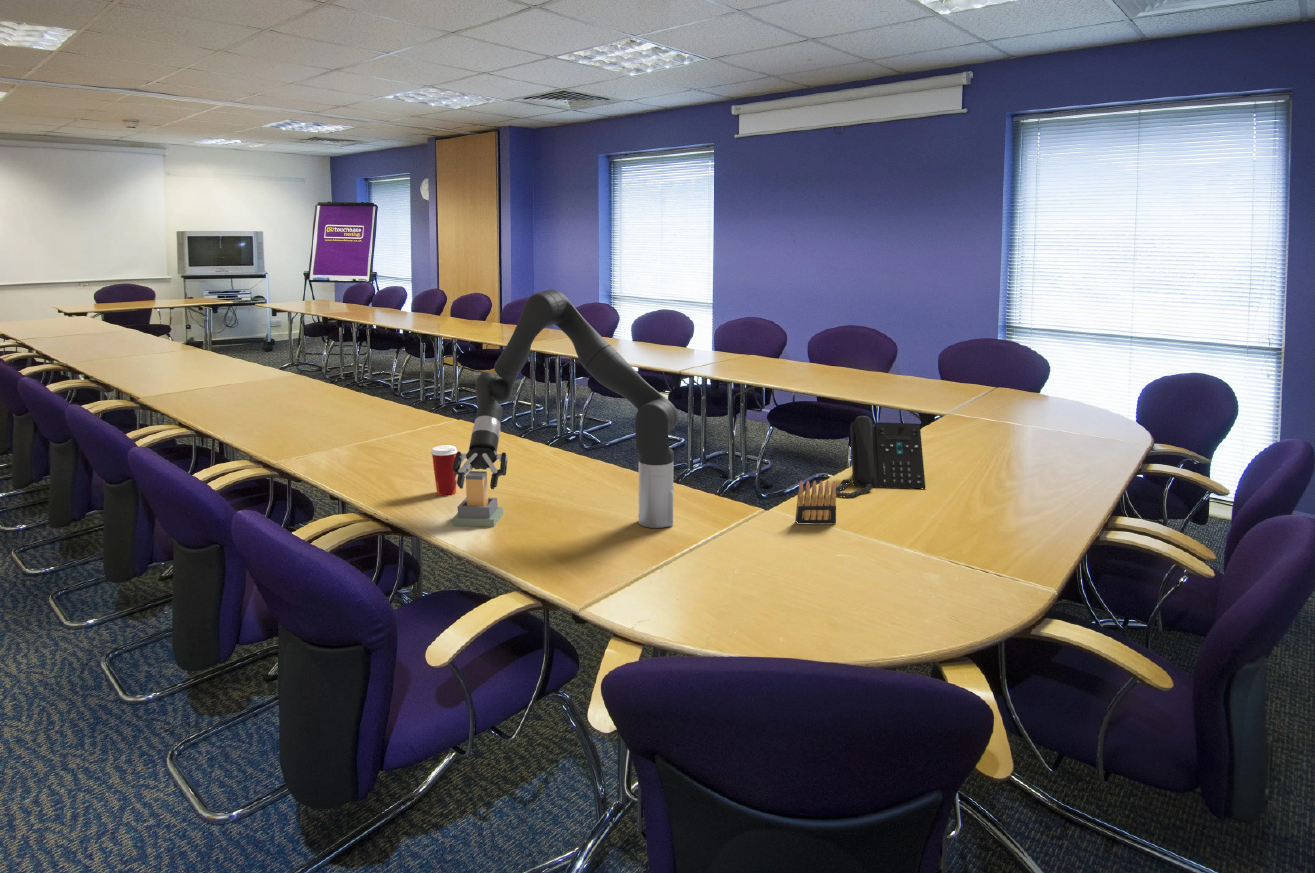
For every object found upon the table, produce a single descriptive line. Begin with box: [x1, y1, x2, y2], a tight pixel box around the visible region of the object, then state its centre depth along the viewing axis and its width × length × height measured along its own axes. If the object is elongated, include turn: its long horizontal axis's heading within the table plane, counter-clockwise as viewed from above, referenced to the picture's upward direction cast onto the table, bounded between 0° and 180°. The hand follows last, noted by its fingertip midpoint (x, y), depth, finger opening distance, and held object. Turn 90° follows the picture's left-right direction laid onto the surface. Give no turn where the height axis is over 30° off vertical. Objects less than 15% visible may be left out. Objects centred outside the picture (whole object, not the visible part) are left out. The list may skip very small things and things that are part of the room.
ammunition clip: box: [794, 479, 837, 523], centre depth 216 cm, size 11×2×12 cm, turn 93°
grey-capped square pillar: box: [465, 470, 489, 506], centre depth 216 cm, size 4×4×11 cm
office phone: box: [836, 415, 927, 498], centre depth 249 cm, size 29×28×20 cm
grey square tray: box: [452, 496, 504, 528], centre depth 217 cm, size 11×10×5 cm
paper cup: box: [430, 444, 458, 496], centre depth 239 cm, size 8×8×14 cm
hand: (476, 487), depth 215 cm, fingers open, 8 cm apart
